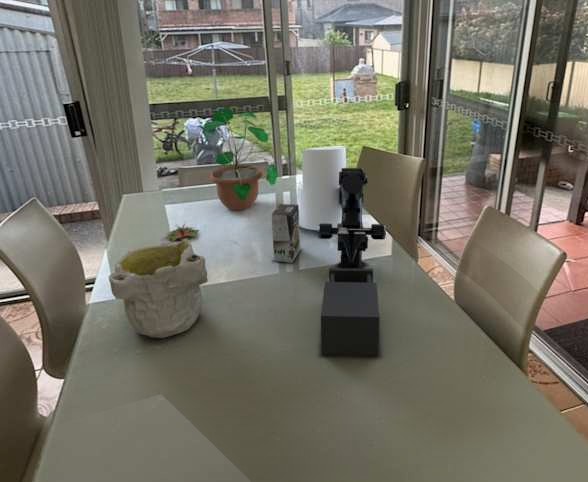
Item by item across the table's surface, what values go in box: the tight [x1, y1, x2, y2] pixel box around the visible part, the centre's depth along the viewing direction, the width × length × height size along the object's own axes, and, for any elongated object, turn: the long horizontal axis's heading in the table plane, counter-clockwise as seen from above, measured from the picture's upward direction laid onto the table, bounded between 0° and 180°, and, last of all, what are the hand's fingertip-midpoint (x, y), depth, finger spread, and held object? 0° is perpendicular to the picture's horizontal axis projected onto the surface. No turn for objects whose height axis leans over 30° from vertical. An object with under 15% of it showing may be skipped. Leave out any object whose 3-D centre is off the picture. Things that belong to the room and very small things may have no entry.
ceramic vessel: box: [108, 239, 209, 339], centre depth 108 cm, size 23×24×25 cm
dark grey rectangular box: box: [320, 281, 380, 357], centre depth 103 cm, size 14×13×11 cm
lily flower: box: [163, 221, 201, 242], centre depth 155 cm, size 12×12×5 cm
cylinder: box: [297, 145, 347, 231], centre depth 158 cm, size 17×17×28 cm
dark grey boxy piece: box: [328, 267, 374, 283], centre depth 113 cm, size 16×11×9 cm
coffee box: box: [270, 203, 301, 264], centre depth 139 cm, size 9×6×16 cm
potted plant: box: [203, 108, 279, 211], centre depth 177 cm, size 31×29×40 cm
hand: (351, 261), depth 119 cm, fingers closed
